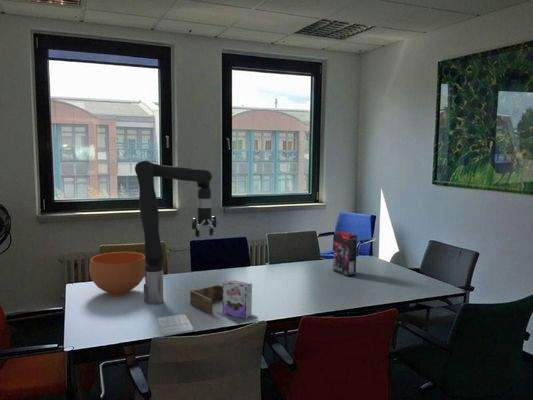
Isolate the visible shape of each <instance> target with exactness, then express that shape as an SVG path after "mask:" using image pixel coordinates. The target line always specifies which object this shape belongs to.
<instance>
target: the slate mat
mask: <svg viewBox="0 0 533 400" xmlns="http://www.w3.org/2000/svg"><path fill="white" fill-rule="evenodd" d="M217 314H218V315H220V316H222V317H224V318H227V319H228V320H230V321H233V322H234V323H236V324H241V323H244V322H249V321H251V320H254V319H258V315H257V316H256V315H254V314H252V313H251V315H252V316H250V317H248V318H247V319H243V318H239V317H234V316H230V315H226V314H223V310H222V311H219V312H217Z"/></svg>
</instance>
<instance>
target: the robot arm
mask: <svg viewBox="0 0 533 400" xmlns="http://www.w3.org/2000/svg"><path fill="white" fill-rule="evenodd" d="M134 171H135V174H136V177H137V183H138V187H139V193H138V201H139V205H138V206H139V214H140V220H141V225H142V228H143V234H144V256H145V276H144V279H145V281H144V284H143V302H144V303H146V304H148V305H156V304H157V305H158V304H162V303H163V302H164V246H163V243H162V242H161V239H160V233H159V232H160V230H159V228H160V227H159V226H160V216H159V215H160V214H159V212H160V211H159V205H158V200H157V194H156V190H155V183H154V181H155V179H154V178H166V179H170V180H171V179H172V180H175V181H177V180H178V181H182V182H183V181H185V182H196V185H197V204H196V205H197V206H196V207H197V211H196V212H197V217H196V218H195V217H192V220H191V221H192V222H191V229H192V230H194V231H195V234H194V235H195V237H196V238H200V229H201V228H202V227H203V226H208V227H209V229H208V231H209V232H208V233H209V236H210V237H211V236H214V228H217V217H216V216H214V215H212V190H211V187H210V186H211V185H210V184H211V183H210V182H211V180H212V179H213V175H212V173H211V171H209V170H206V169H195V168H192V167H185V166H176V165H175V166H173V165H172V166H171V165H162V164H157V163H154V162H152V161H151V162H150V161H149V160H145V159H143V160H139V161H137V162H136V164H135V166H134Z"/></svg>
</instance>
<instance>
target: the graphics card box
mask: <svg viewBox="0 0 533 400" xmlns="http://www.w3.org/2000/svg"><path fill="white" fill-rule="evenodd" d="M333 238H334V239H333V240H334V241H333V242H334V243H333V266H332V267H333V268H332V271H333V272H336V273H338V274H341V275H343V276H345V277H353V276H356V271H357V267H356V266H357V249H358V248H357V246H358V245H357V244H358V235H357V234H353V233H349V232H345V231H335V232H334V237H333Z"/></svg>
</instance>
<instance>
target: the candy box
mask: <svg viewBox="0 0 533 400" xmlns="http://www.w3.org/2000/svg"><path fill="white" fill-rule="evenodd" d="M222 286H223V300H222V311H223V314H226V315H230V316H234V317H239V318H243V319H247V318H248V317H250V316H252V315H253V314H252V310H253V309H252V305H253V304H252V302H253V301H252V300H253V299H252V298H253V283H252V282H244V281H240V280H233V279H226V280H223V282H222ZM251 314H252V315H251Z"/></svg>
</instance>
